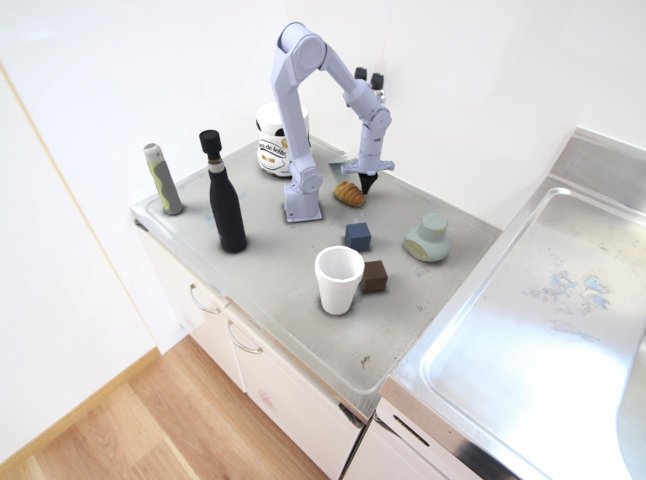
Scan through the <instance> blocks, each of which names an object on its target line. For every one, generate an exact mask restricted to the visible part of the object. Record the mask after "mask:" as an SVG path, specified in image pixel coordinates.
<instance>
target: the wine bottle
mask: <svg viewBox="0 0 646 480" xmlns="http://www.w3.org/2000/svg"><path fill="white" fill-rule="evenodd" d="M198 138H199V143H200V146H201V150H202V152H203V154H206V155H207V167H208V169H207V173H208V176H209V180H210V184H209V192H208V193H209V205H210V208H211V212H212V216H213V219H214V222H215V226H216V230H217V234H218V237H219V241H220V245H221V247H222V248H221V249H222V250H223V251H224V252H225V253H228V254H238V253H241V252H242V251H244V250H245V249H246V247H247V245H248V241H247V235H246V230H245V225H244V219H243V214H242V209H241V204H240V199H239V195H238V193H237V191H236V188H235V187H234V185H233V183H232V181H230V179H229V176H228V175H229V174H228V170H227V167H226V165H225V162H224V159H223V158H222V156H221V153H220V152H221V151H222V150H223V145H222V140H221V136H220V132H219V131H218V130H216V129H204V130H203V131H201V132H199V134H198Z"/></svg>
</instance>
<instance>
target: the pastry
mask: <svg viewBox="0 0 646 480" xmlns="http://www.w3.org/2000/svg"><path fill="white" fill-rule="evenodd" d="M333 193H334V196H335V197H336V198H337V199H338V201H341V202H342V203H344V204H346V205H348V206H350V207H356V208H358V207H360V206H362V205H363V204H364V203H365V200H366V199H365V195H363V193H362V189H361V188H359V187H358V186H357V185H356V184H355V183H353V182H349V180H343V181H340V182H339V183H338V184H337V185H336V186H335V188H334V190H333Z"/></svg>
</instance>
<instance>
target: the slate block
mask: <svg viewBox="0 0 646 480" xmlns="http://www.w3.org/2000/svg"><path fill="white" fill-rule="evenodd" d="M345 225H346V226H345V234H344V235H345V236H344V240H345V243H346V247H348V248H351V249H353V250H355V251H357V252H358V253H359V252H366V251H370V246H371V240H372V234H371V231H370V228H369V227H368V224H367V222H366V221H365V222H357V223H347V224H345Z"/></svg>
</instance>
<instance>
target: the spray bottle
mask: <svg viewBox="0 0 646 480" xmlns="http://www.w3.org/2000/svg"><path fill="white" fill-rule="evenodd" d="M142 149H143V150H142V151H143V153H144V157H145V161H146V164H147V167H148V169H149V173H150V175H151V176H152V178H153V181H154V185H155V188H156V191H157V193H158V196H159V199H160V200H161V203H162V207H163V209H164V211H165V213H166V214H168V215H176V214H179V213H180V212H181V211H182V210H183V204H182V201H181V199H180V196H179V193H178V189H177V188H176V185H175V182H174V179H173V177H172V175H171V170H170V168H169V166H168V163H167V161H166V158H165V156H164V153H163V151H162V148H161V146H160V145H159V144H158V143H155V142H150V143H147V145H145V146H144V147H143V148H142Z"/></svg>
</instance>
